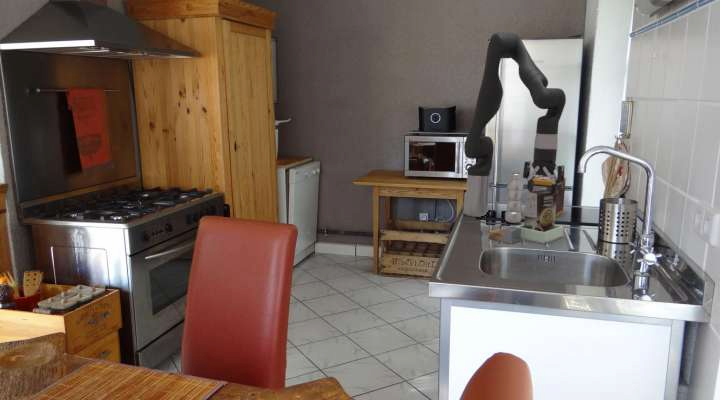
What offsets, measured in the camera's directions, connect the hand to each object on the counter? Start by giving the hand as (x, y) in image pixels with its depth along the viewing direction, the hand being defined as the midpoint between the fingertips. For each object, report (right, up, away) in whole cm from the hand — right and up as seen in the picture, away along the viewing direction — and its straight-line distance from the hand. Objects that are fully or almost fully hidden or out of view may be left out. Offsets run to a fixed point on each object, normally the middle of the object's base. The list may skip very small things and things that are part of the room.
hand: (541, 192), depth 188 cm
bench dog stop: (-11, -17, -3) cm, 21 cm away
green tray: (0, -16, +3) cm, 16 cm away
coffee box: (0, -16, +3) cm, 16 cm away
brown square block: (-14, -17, +1) cm, 22 cm away
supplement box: (+16, -9, +41) cm, 45 cm away
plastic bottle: (-3, -12, +25) cm, 28 cm away
